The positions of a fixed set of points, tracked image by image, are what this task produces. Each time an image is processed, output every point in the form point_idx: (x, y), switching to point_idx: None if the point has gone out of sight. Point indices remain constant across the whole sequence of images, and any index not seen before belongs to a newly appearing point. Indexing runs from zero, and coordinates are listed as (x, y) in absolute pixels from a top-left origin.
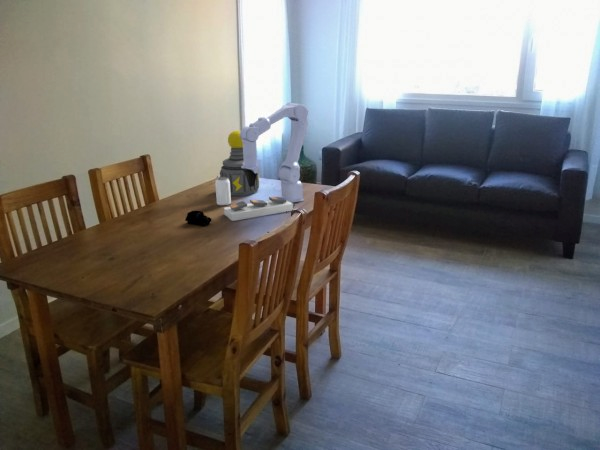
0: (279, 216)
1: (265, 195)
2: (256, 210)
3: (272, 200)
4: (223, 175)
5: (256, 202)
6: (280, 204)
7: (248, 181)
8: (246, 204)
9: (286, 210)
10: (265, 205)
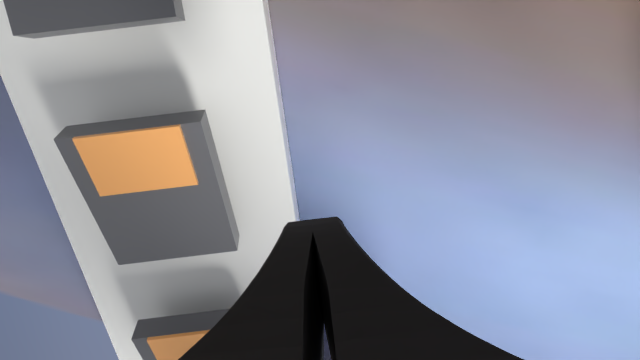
0: (37, 268)
1: (605, 303)
2: (22, 120)
3: (163, 323)
4: None
5: (88, 168)
6: None
7: (300, 260)
8: (12, 26)
9: None
10: None
